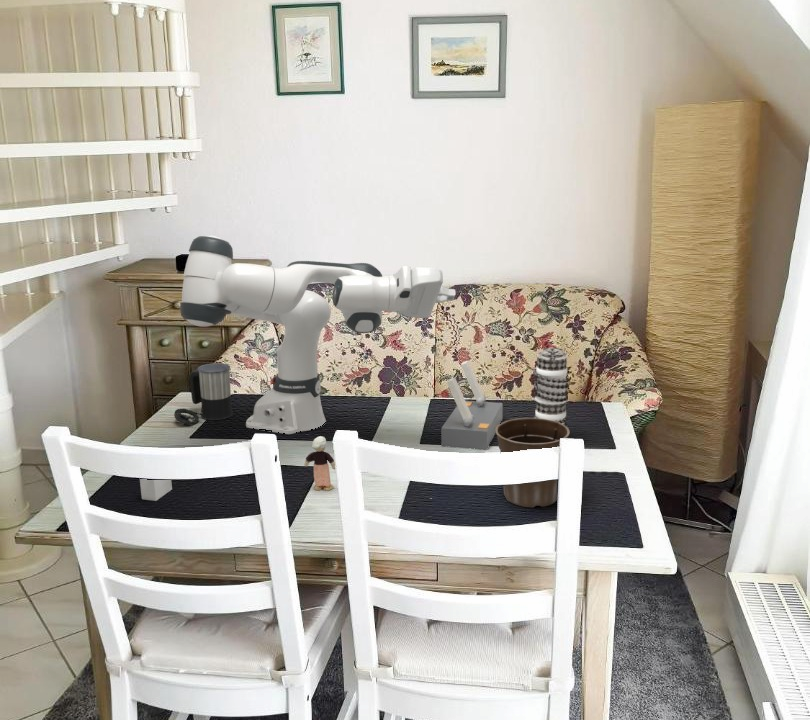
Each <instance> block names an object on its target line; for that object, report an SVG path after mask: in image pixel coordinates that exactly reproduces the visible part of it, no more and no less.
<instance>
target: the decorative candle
mask: <svg viewBox="0 0 810 720" xmlns="http://www.w3.org/2000/svg"><path fill="white" fill-rule="evenodd" d="M568 358H569V355H568V354H567V353H566V352H565V350H563V348H562V349H561V348H558V347H545V348H543V349H540V351H539V353H537V354H536V366H535V369H534V370H533V374H534V375H533V378H532V379H533V380H534V382H535V383H534V384H533V387H534V389H533V392H534V395H535V396H534V401H535V407H536V408H535V415H533V418H541V419H548V420H552V421H556V422H559V423H561V424H563V425H565V426H566V427H568V424H567V421H568V418H567V410H566V403H567V402H568V399H569V398H568V395H569V392H568V390H566V389H568V388H569V387H570V384H569V381H571V380H570V378H569V377H567V374H569V373H570V370H569V369H568V366H567V364H568V361H567V359H568Z"/></svg>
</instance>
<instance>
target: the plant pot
mask: <svg viewBox="0 0 810 720" xmlns="http://www.w3.org/2000/svg"><path fill="white" fill-rule="evenodd" d="M570 432H571V431H570V429H569V427H568V426H565V425H563V424H561V423H559V422H556V421H552V420H548V419H541V418H534V417H520V418H513V419H508V420H505V421H502V422H501V424H499V425H498V426H497V427H496V429H495V435H496V436H497V443H498V448H499V451H500V453H501V452H513V451H520V450H527V449H542V448H552V447H557V446H559V439H560V438H567V439H568V438H569V436H570ZM503 496H504V497H505V499H506V501H508V502H509V503H510V504H514V505H515V506H519V507H524V508H532V509H533V508H536V506H539V507H541V508H544V507H548V506H551V505H553V504H555V503H556V502H557V501H558V499H557V480H551V481H545V482H537V483H527V484H518V485H506V486H503Z"/></svg>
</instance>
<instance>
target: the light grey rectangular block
mask: <svg viewBox="0 0 810 720" xmlns="http://www.w3.org/2000/svg"><path fill="white" fill-rule="evenodd" d="M139 483H140V484H139V485H140V494H141V499H142V500H146V501H153V502H154V501H155V502H157V501H158V500H159V499H161V498H163V496H165V495H166V494H167V493H169V492H171V490H173V486H172V479H171V480H147V479H140V478H139Z"/></svg>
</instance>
